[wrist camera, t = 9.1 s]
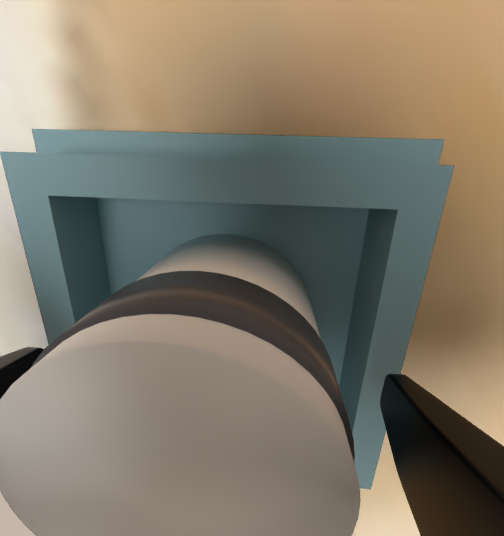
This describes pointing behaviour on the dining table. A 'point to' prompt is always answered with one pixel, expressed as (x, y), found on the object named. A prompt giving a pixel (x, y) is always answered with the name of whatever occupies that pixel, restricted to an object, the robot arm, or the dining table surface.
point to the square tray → (243, 231)
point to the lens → (185, 409)
